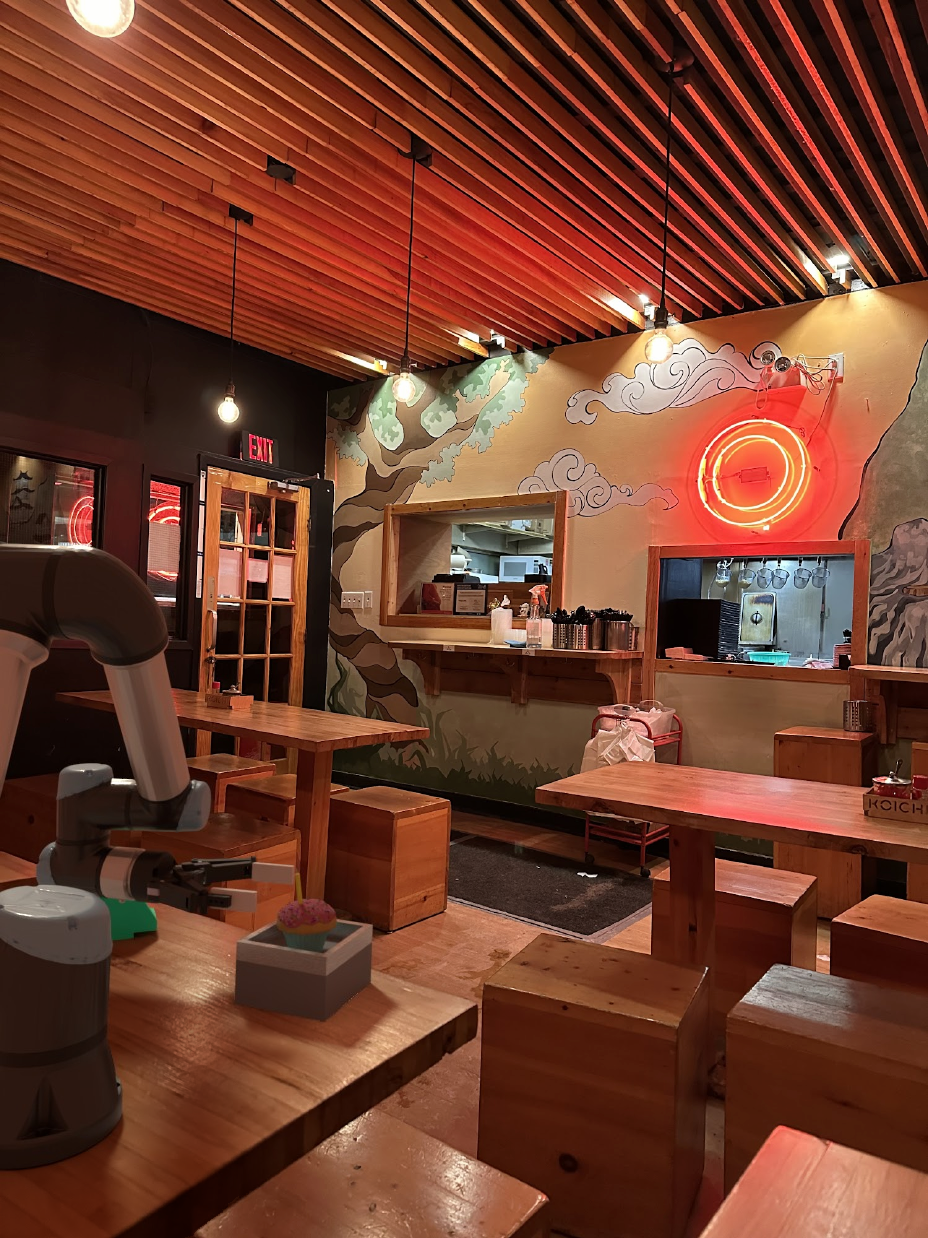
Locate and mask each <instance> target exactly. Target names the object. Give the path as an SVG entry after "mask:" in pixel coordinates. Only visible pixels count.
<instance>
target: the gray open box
mask: <svg viewBox="0 0 928 1238" xmlns="http://www.w3.org/2000/svg"><path fill="white" fill-rule="evenodd" d="M341 941H342V939H336V938H330V937H327V938H326V940H325V943H324V946H323V950H322V951H321V952H320V953H323V954H324V953H325V952H327V951H328V950H329V949H331V948H332V947H334V946H335V945H337V944H338V943H340V942H341ZM271 945H277V946H283V947H288V946H287V943H286V939H285V936H283V937H281V938H280V939H278V940H276V941H275V942H273V943H271ZM372 951H373V941H372V942H371V943H370V944H368V945H367V946H366V947H364V948H363V949H362V950H360V951H359V952H358V953H356V954H355V955H354V956H352V957H351V958H350V959H348V960H347V961H346V962H344V963H343V964H342V965H340V966H339V967H338V968H336V969H335V970H334V971H332V972H331V973H330V974H328V975H327V976H322V975H316V974H311V973H305V972H300V971H295V970H289V969H284V968H278V967H273V966H267V965H262V964H256V963H251V962H245V961H240V960H236V959H235V976H234V977H235V978H234V980H235V981H234V1004H235V1005H239V1006H245V1007H249V1008H254V1009H259V1010H264V1011H269V1012H273V1013H278V1014H284V1015H289V1016H293V1017H299V1018H304V1019H309V1020H312V1021H317V1022H322V1023H325V1022H327V1020H329V1019H330V1018H331V1017H333V1015H334V1014H336V1013H337V1012H338V1011H339V1010H341V1009H342V1008H343V1007H344V1006H345V1005H346V1004H347V1003H349V1002H350V1001H351V1000H352V999H354V997H356V996H357V995H358V994H359V993H360V992H361V991H360V990H362V989H363V988H364V989H365V988H367V986H369V985H370V984H371V982H372V959H373V958H372V957H373V956H372V953H373V952H372ZM364 989H363V990H364ZM363 990H362V991H363ZM357 993H358V994H357ZM356 994H357V995H356ZM355 995H356V996H355ZM353 996H354V997H353ZM351 998H352V999H351ZM349 1000H350V1001H349ZM348 1001H349V1002H348ZM343 1005H344V1006H343ZM342 1006H343V1007H342ZM341 1007H342V1008H341Z"/></svg>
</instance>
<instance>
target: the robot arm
mask: <svg viewBox="0 0 928 1238" xmlns="http://www.w3.org/2000/svg"><path fill="white" fill-rule="evenodd" d="M169 636H170V635H169V631H168V628H167V622H166V618H165V615H164V613H163V611H162V608H161V607H160V605H159V603H158V600H157V598H156V597H155V596H154V594H153V593H152V591H151V590H150V588H149V587H148V585H146V583H145V581H144V580H142V579H141V577H140V576H139V575H138V574H137V573H136V571H134V570H133V569H132V568H131V567H129V565H127V564H126V563H124V562H123V560H121V559H119V558H118V557H116V556H114V555H113V554H111V553H109V552H107V551H105V550H103V549H99V548H95V547H93V546H89V545H80V544H79V545H77V544H73V545H55V544H53V545H52V544H32V543H31V544H26V543H25V544H24V543H23V544H22V543H7V542H5V541H0V797H1V795H2V791H3V787H4V783H5V779H6V775H7V771H8V767H9V762H10V758H11V754H12V750H13V745H14V743H15V742H14V741H15V737H16V734H17V729H18V725H19V721H20V717H21V712H22V707H23V705H24V700H25V696H26V691H27V687H28V684H29V679H30V675H31V671H32V670H33V668H36V667H37V666H39V665H41V664H43V663H44V662H46V661H47V660H48V658H49V654H50V650H51V646H52V644H53V643H52V642H53V641H54V640H79V641H82V642H84V643H86V644H88V647H89V650H90V655H91V656H92V658H93V659H94V661H95V662H97V663H99V664H100V665H102V666H103V669H104V673H105V676H106V680H107V683H108V687H109V691H110V695H111V699H112V701H113V704H114V709H115V713H116V716H117V721H118V723H119V726H120V730H121V731H120V732H121V734H122V738H123V742H124V745H125V748H126V753H127V757H128V760H129V763H130V767H131V770H132V774H133V777H134V779H131V778H130V779H127V778H123V779H122V778H114V773H113V768H112V767H111V766H110V765H108V764H101V763H91V762H90V763H79V764H73V765H72V764H71V765H68V766H65V767H64V768H63V769H62V770H60V772H59V776H58V783H57V785H58V786H57V796H56V798H55V800H56V834H55V835H56V839H55V841H53V842H51V843H48V844H47V845H46V846H45V847H44V848H43V849H42V851H41V853H40V854H39V858H38V859H39V861H38V863H37V864H36V865H35V878H36V881H37V883H38V885H37V886H30V885H23V886H16V887H10V888H8V889H4V890H1V891H0V1169H2V1170H7V1169H9V1170H10V1169H11V1170H12V1169H25V1168H33V1167H37V1166H43V1165H48V1164H51V1163H52V1164H53V1163H54V1162H59V1161H61V1160H64V1159H68V1158H70V1157H72V1156H75V1155H78V1154H79V1153H81V1152H83V1151H85V1150H87V1149H89V1148H91V1147H93V1146H94V1145H96V1144H97V1143H99V1142H100V1141H102V1140H103V1139H104V1138H106V1137H107V1136H108V1135H109V1134H110V1133H111V1132H112V1131H113V1130H114V1128H115V1127H116V1126H117V1125H118V1123H119V1122H120V1120H121V1117H122V1115H123V1096H124V1095H123V1092H124V1090H123V1085H122V1082H121V1079H120V1077H119V1076H118V1075H117V1072H116V1067H115V1062H114V1058H113V1054H112V1050H111V1047H110V1044H109V1041H108V1023H109V1022H108V1021H109V1001H110V984H111V983H110V982H111V963H112V961H111V959H112V952H113V946H114V943H113V940H112V937H111V915H110V911H109V908H108V906H107V905H106V904H105V902H104V901H102V900H101V899H100V898H109V899H119V902H120V903H124V902H125V901H126V900H129V901H134V900H136V901H137V902H145V903H147V904H155V905H156V904H161V903H162V904H165V905H167V906H170V907H172V908H175V909H177V910H178V909H179V910H181V911H184V912H186V913H189V914H195V913H197V912H198V915H200V916H205V915H208V914H209V912H208V911H209V909H214V910H222V911H223V910H224V911H232V912H233V911H234V912H241V913H242V912H243V913H251V914H252V913H253V914H254V913H256V912H257V911H258V910H257V908H258V891H257V890H248V889H237V888H236V889H235V888H227V887H226V888H225V887H216V886H215V887H213V886H212V887H211V888H210V890H209V889H208V887H210V886H211V885H212V884H214V883H215V884H216V883H223V882H224V883H225V882H232V881H240V880H242V881H243V880H249V879H250V880H251V882H258V883H269V884H279V885H281V884H282V885H289V886H292V885H293V884H294V883H295V865H291V864H280V863H270V862H267V863H266V862H258V861H257V860H258V859H257V856H256V855H250V857H235V858H232V857H231V858H229V857H228V858H210V859H208V858H197V857H196V858H192V859H190V861H188V862H187V861H186V862H181V864H178V862H177V861H176V858H175V856H174V854H172V852H170V851H168V850H158V849H145V848H138V847H127V846H126V847H125V846H113V845H110V841H111V837H112V835H111V833H112V832H111V831H143V832H144V831H145V832H146V831H148V832H167V833H168V832H172V833H173V832H174V833H179V832H197V831H200V830H202V829H204V828H205V826H206V825H207V823H208V820H209V818H210V814H211V813H210V812H211V805H212V804H211V803H212V795H211V794H212V793H211V788H210V786H209V785H208V783H207V782H205V781H200V780H196V779H192V780H191V776H190V772H189V767H188V763H187V758H186V752H185V748H184V743H183V737H182V733H181V730H180V725H179V724H180V723H179V720H178V715H177V710H176V705H175V701H174V696H173V695H174V694H173V691H172V685H171V681H170V677H169V671H168V667H167V663H166V662H167V661H166V656H165V653H164V652H165V650H166V649H167V648H168V645H169V639H170V637H169ZM209 891H210V892H209Z"/></svg>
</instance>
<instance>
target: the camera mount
mask: <svg viewBox="0 0 928 1238" xmlns="http://www.w3.org/2000/svg"><path fill="white" fill-rule="evenodd" d="M100 899H101V900H102V901H104V902H105V904H106V905H107V906H108V908H109V911H110V915H111V937H112V941H118V940H121V941H122V940H127V939H129V940H130V939H134V938H135V937H134V936H135V935H134V934H135V933H143V932H144V933H146V932H152V931H157V930H158V919H157V915H156V911H155V908H154V907H150V906H149V905H148V903H145V902H137V901H136V900H134V901H129V900H126V901H125V902H124V903H120V902H119V899H109V898H100Z"/></svg>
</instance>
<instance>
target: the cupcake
mask: <svg viewBox="0 0 928 1238" xmlns="http://www.w3.org/2000/svg"><path fill="white" fill-rule="evenodd" d="M294 880H295V888H296V897H297V898H296V900H294V901H291V902H288V903H287V904H285V906H283V907H282V908H281V909H279V912H278V913H277V914H276V919H277V922H276V924H277V927H278V929H279V930H280V931H283V934H284V936H285V939H286V943H287V946H288V947H289V948H295V949H300V950H306V951H312V952H318V953H320V952H321V951H322V950H323V946H324V943H325V940H326V938H327V935H328V933H329V931H330V930H331V929H333V928H335V927H336V925H337V919H338V918H337V915H336V914H337V911H335V908H333V907H332V906H331V905H330V904H329V903H327V902H326V901H325V900H322V899H320V898H311V897H308V898H303V893H302V883H301V874H300V873H299V872H298V869H297V868H295V873H294Z"/></svg>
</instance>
